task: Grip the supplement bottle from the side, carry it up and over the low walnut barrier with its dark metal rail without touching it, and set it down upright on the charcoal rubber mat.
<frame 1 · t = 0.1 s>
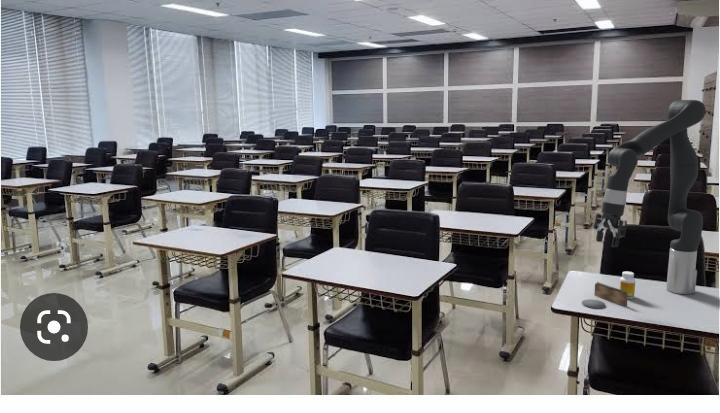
hand: (606, 244, 204), 22 cm above the table, tool pointing down, fingers open, 8 cm apart
charcoal mat: (593, 304, 204), on the table
supplement bottle: (626, 297, 212), on the table
walnut barrier: (610, 301, 208), on the table
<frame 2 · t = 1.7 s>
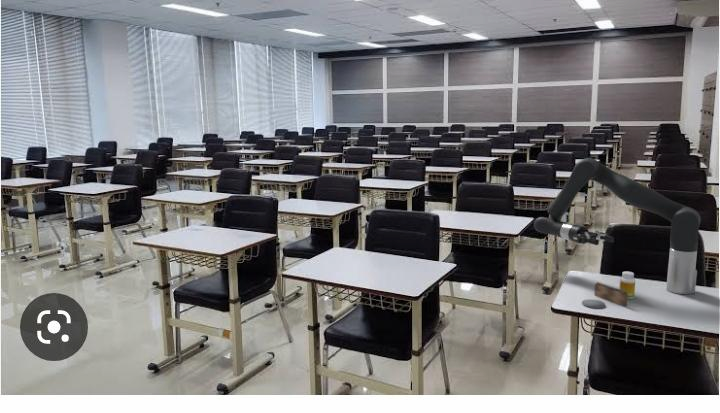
hand: (605, 241, 218), 20 cm above the table, tool horizontal, fingers open, 8 cm apart
nothing on the table moved.
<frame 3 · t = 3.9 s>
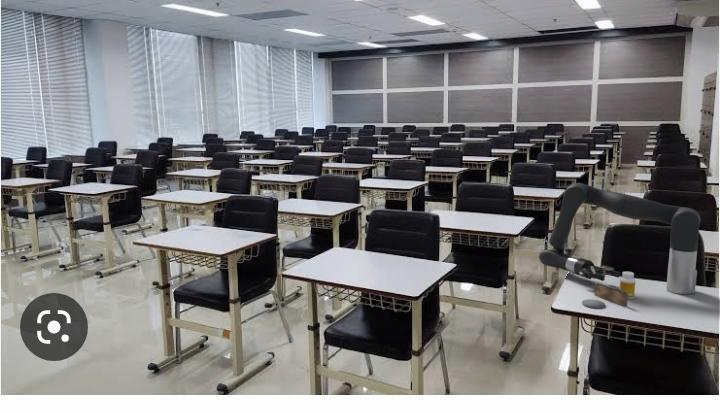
hand: (611, 276, 217), 6 cm above the table, tool horizontal, fingers open, 8 cm apart
nothing on the table moved.
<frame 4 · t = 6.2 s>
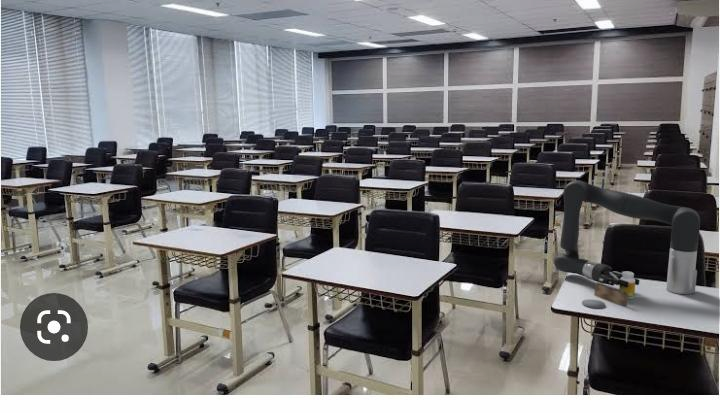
hand: (633, 283, 209), 6 cm above the table, tool horizontal, fingers closed on supplement bottle, 5 cm apart
supplement bottle: (626, 297, 212), on the table, touching gripper
everything else where it was.
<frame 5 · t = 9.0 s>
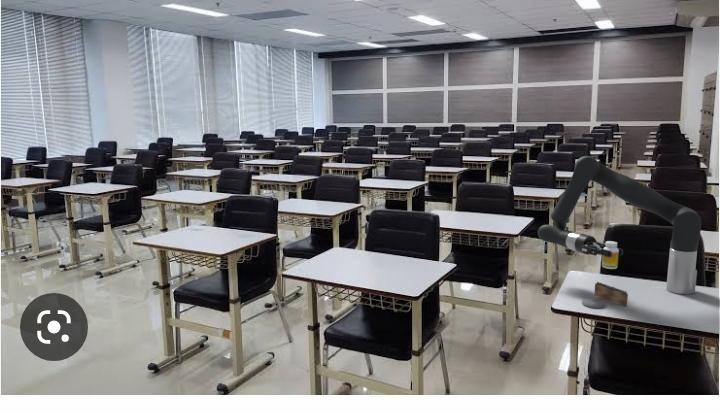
hand: (616, 253, 202), 19 cm above the table, tool horizontal, fingers closed on supplement bottle, 5 cm apart
supplement bottle: (609, 267, 206), point 13 cm above the table, touching gripper
everything else where it was.
when the fingers open (8 cm above the table, at t = 11.9 s): supplement bottle drops 1 cm, resting on charcoal mat.
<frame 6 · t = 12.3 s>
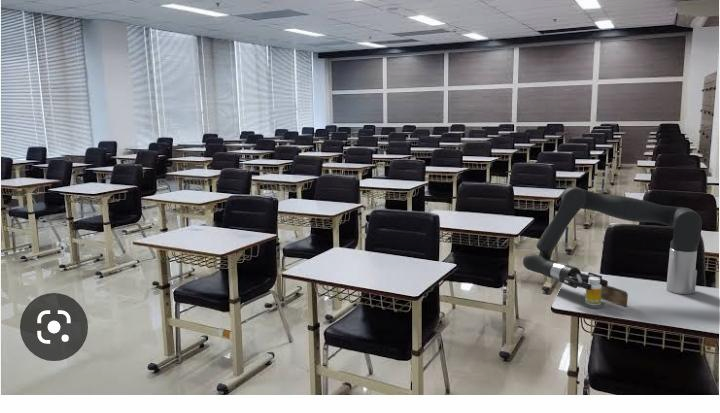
hand: (599, 285, 201), 8 cm above the table, tool horizontal, fingers open, 8 cm apart
supplement bottle: (592, 303, 204), resting on charcoal mat
everything else where it was.
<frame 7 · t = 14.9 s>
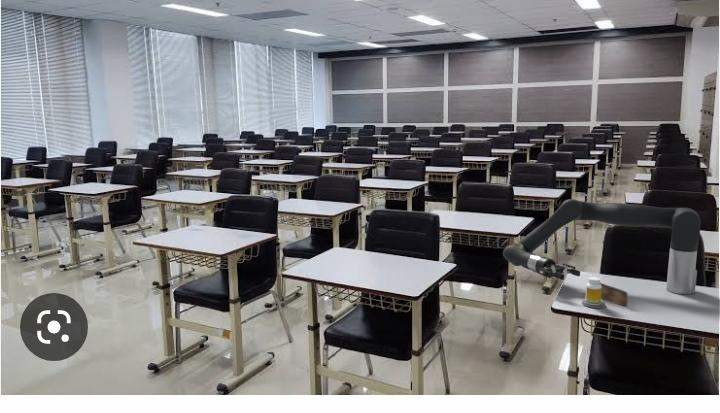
hand: (571, 275, 213), 8 cm above the table, tool horizontal, fingers open, 8 cm apart
nothing on the table moved.
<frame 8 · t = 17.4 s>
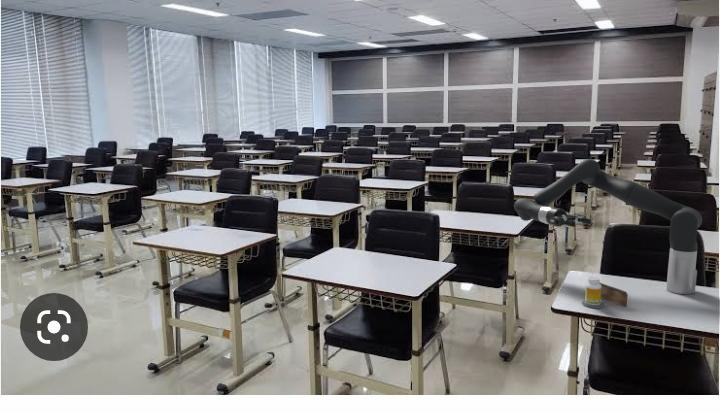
hand: (582, 223, 214), 28 cm above the table, tool horizontal, fingers open, 8 cm apart
nothing on the table moved.
at the end: supplement bottle 0.2 cm off-centre on the charcoal mat, point 0.4 cm above the charcoal mat's base; supplement bottle tilted 1°; walnut barrier moved 0.2 cm from its start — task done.
